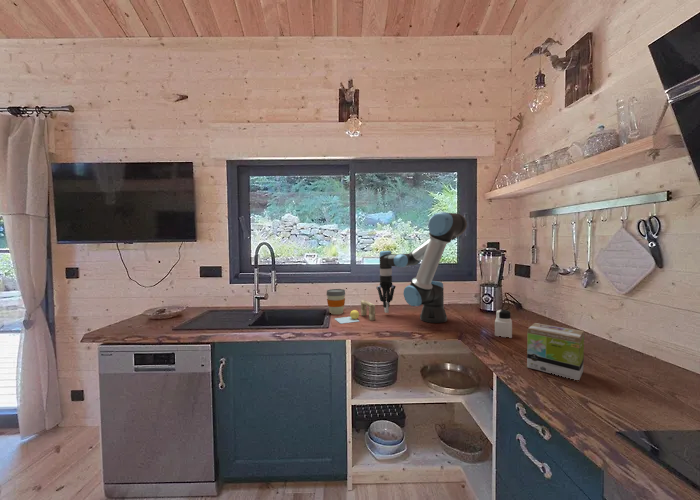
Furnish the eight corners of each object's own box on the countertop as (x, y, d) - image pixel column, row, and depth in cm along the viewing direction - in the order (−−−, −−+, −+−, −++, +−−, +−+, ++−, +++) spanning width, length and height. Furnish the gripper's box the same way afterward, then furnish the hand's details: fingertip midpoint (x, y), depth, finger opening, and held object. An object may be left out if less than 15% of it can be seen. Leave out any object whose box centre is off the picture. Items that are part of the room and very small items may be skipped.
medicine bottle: (512, 334, 140) (511, 309, 140) (511, 338, 134) (511, 313, 134) (495, 332, 144) (495, 308, 143) (494, 336, 138) (494, 311, 137)
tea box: (526, 368, 102) (526, 327, 102) (533, 360, 109) (533, 321, 109) (580, 382, 92) (580, 336, 91) (584, 372, 99) (584, 329, 98)
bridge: (365, 314, 184) (365, 300, 184) (375, 320, 170) (374, 304, 170) (361, 315, 183) (360, 300, 183) (370, 320, 169) (370, 305, 169)
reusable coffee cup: (323, 313, 189) (322, 290, 189) (335, 309, 199) (334, 288, 199) (337, 316, 182) (337, 292, 181) (349, 312, 192) (349, 289, 191)
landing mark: (359, 321, 168) (359, 321, 168) (340, 323, 164) (340, 323, 164) (352, 316, 180) (352, 316, 180) (334, 318, 175) (334, 318, 175)
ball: (355, 309, 171) (349, 317, 170) (362, 314, 172) (356, 322, 171) (352, 307, 176) (347, 314, 175) (358, 312, 177) (353, 319, 176)
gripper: (392, 274, 187) (392, 309, 187) (373, 275, 182) (374, 312, 182) (397, 275, 180) (398, 312, 180) (379, 276, 175) (379, 314, 175)
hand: (386, 312), depth 181 cm, fingers closed
